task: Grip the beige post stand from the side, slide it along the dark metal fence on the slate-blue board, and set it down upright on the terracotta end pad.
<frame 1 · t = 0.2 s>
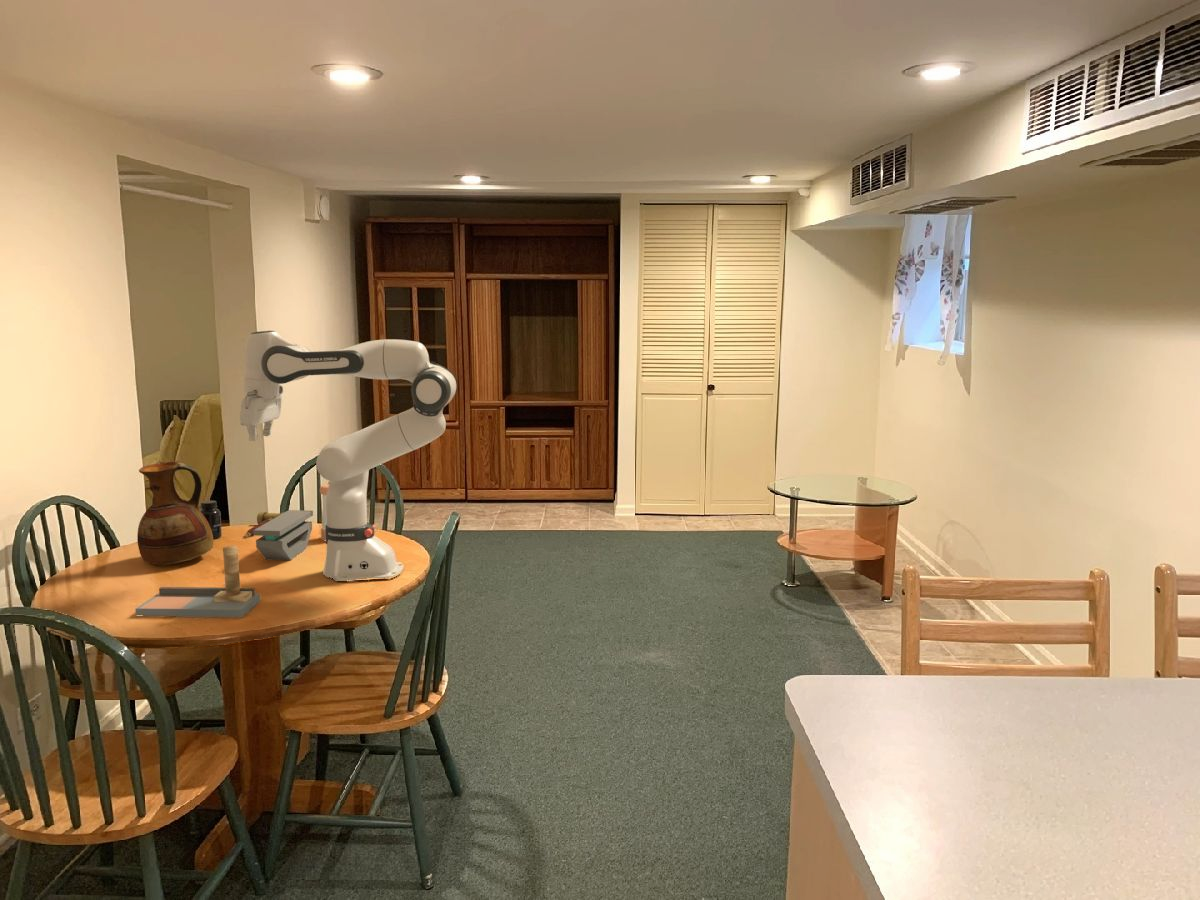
hand: (260, 438, 245), 39 cm above the table, tool pointing down, fingers open, 8 cm apart
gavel: (262, 532, 296), on the table
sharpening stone: (286, 555, 269), on the table
beige post stand: (233, 599, 223), point 2 cm above the table, touching board
supplement bottle: (210, 538, 287), on the table
board: (199, 608, 222), on the table
ceramic pitcher: (177, 560, 262), on the table
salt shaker: (333, 539, 287), on the table
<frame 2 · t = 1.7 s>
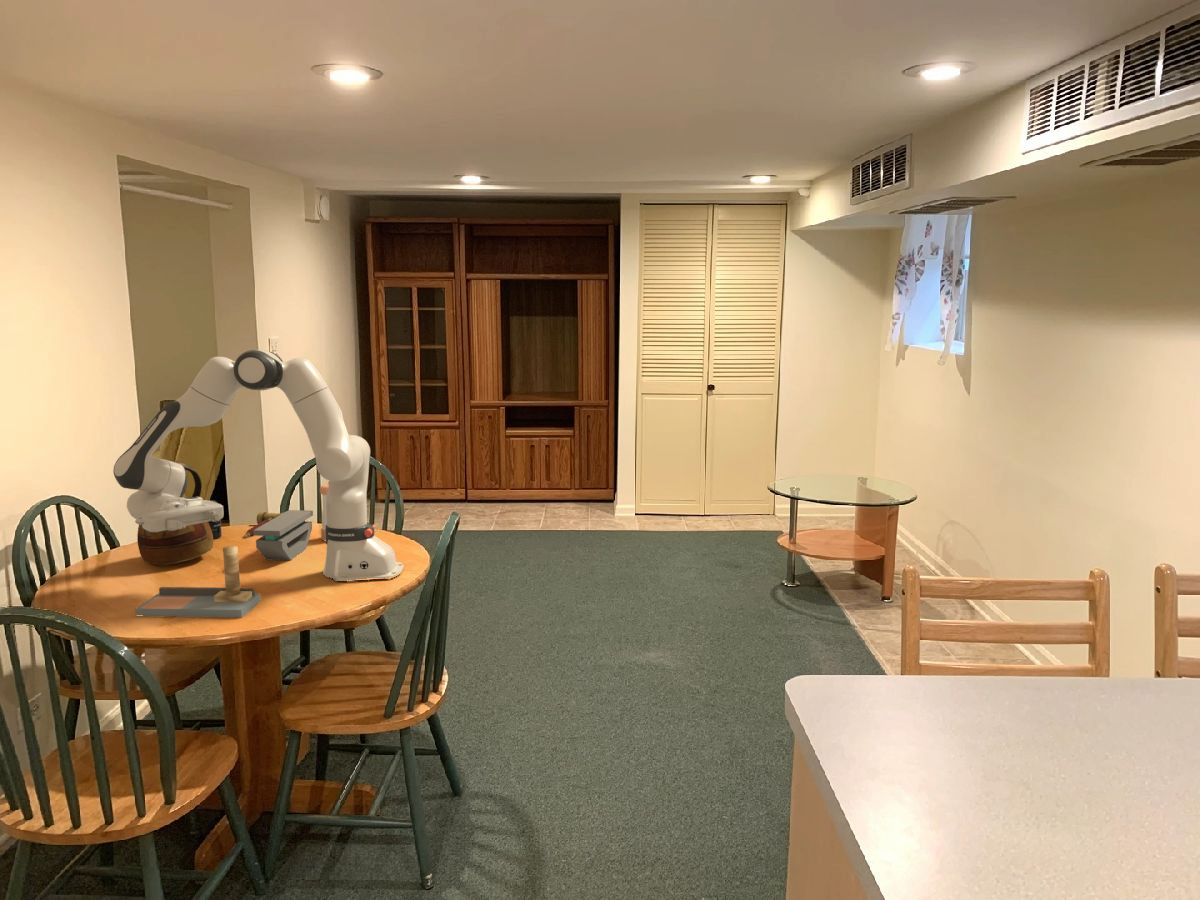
hand: (200, 521, 226), 20 cm above the table, tool horizontal, fingers open, 8 cm apart
nothing on the table moved.
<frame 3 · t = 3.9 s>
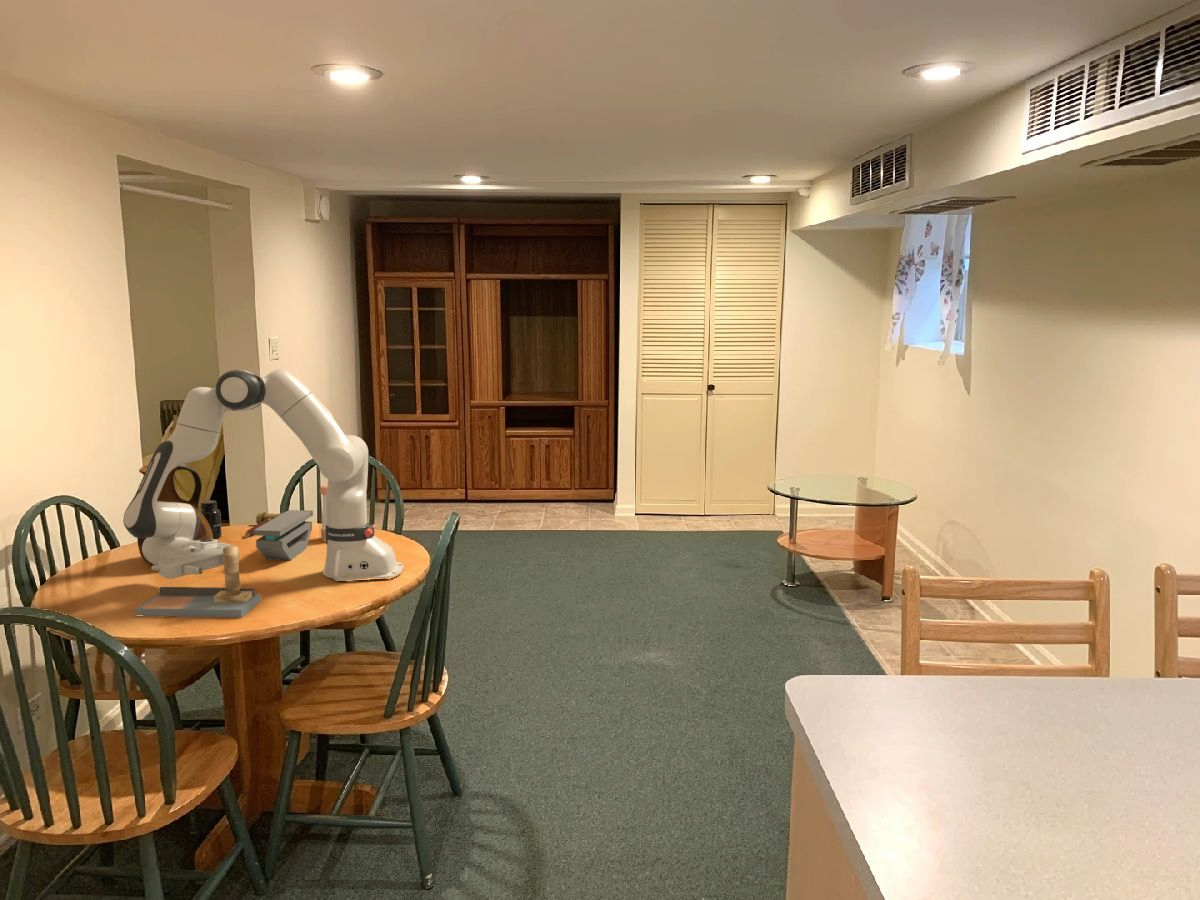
hand: (216, 566, 225), 9 cm above the table, tool horizontal, fingers open, 8 cm apart
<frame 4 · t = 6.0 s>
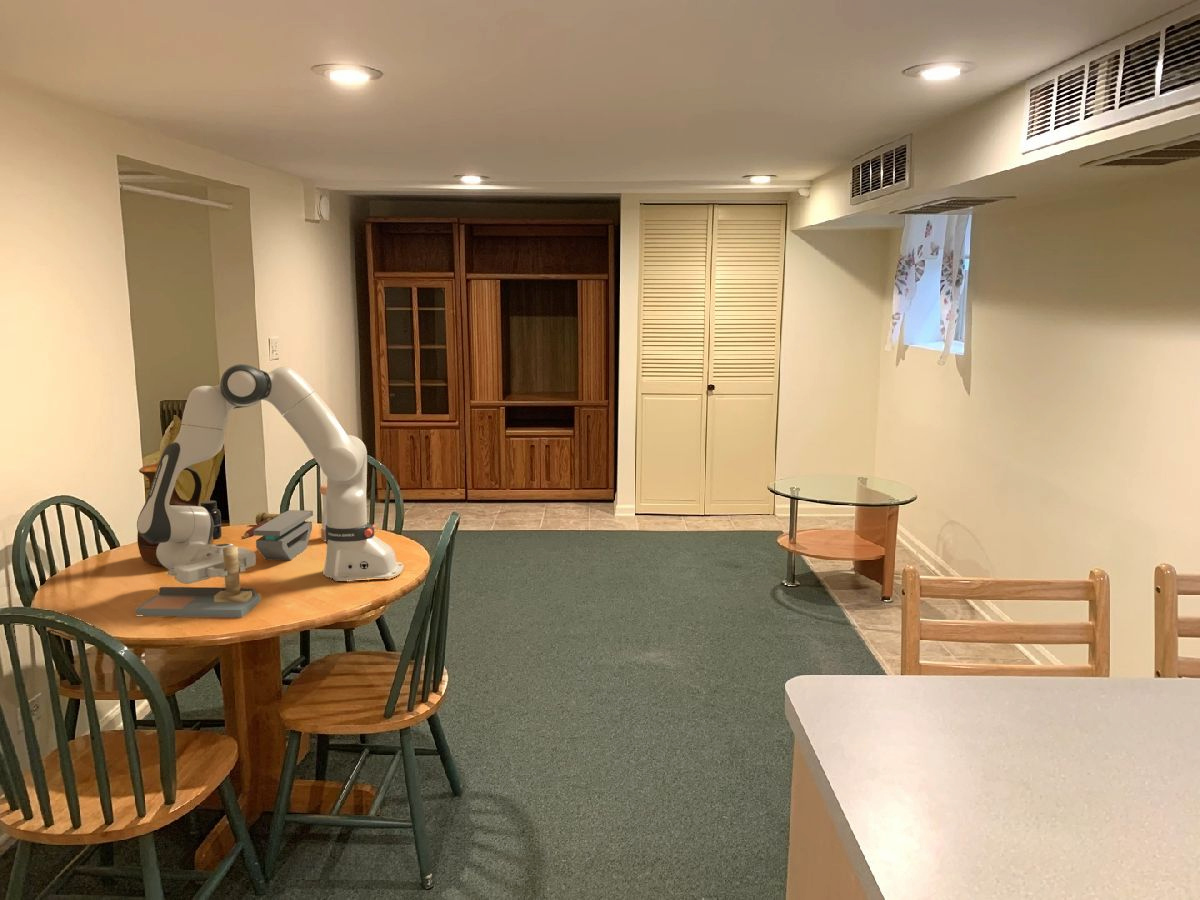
hand: (233, 571, 221), 10 cm above the table, tool horizontal, fingers closed on beige post stand, 3 cm apart
beige post stand: (233, 599, 223), point 2 cm above the table, touching board, gripper
everything else where it was.
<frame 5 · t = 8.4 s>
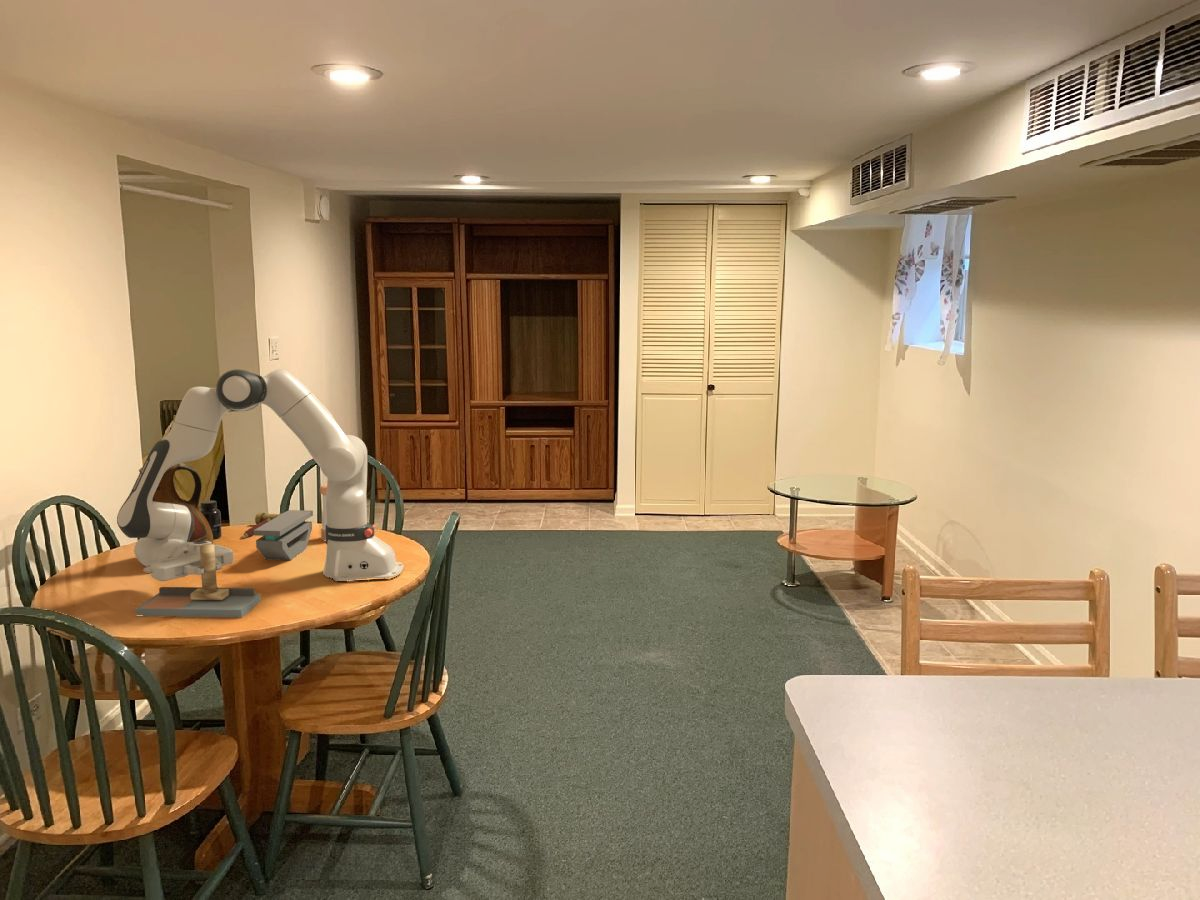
hand: (210, 569, 221), 10 cm above the table, tool horizontal, fingers closed on beige post stand, 3 cm apart
beige post stand: (210, 597, 223), point 3 cm above the table, touching gripper
when the fingers open (10 cm above the table, at t = 11.2 s): beige post stand stays where it is, resting on board.
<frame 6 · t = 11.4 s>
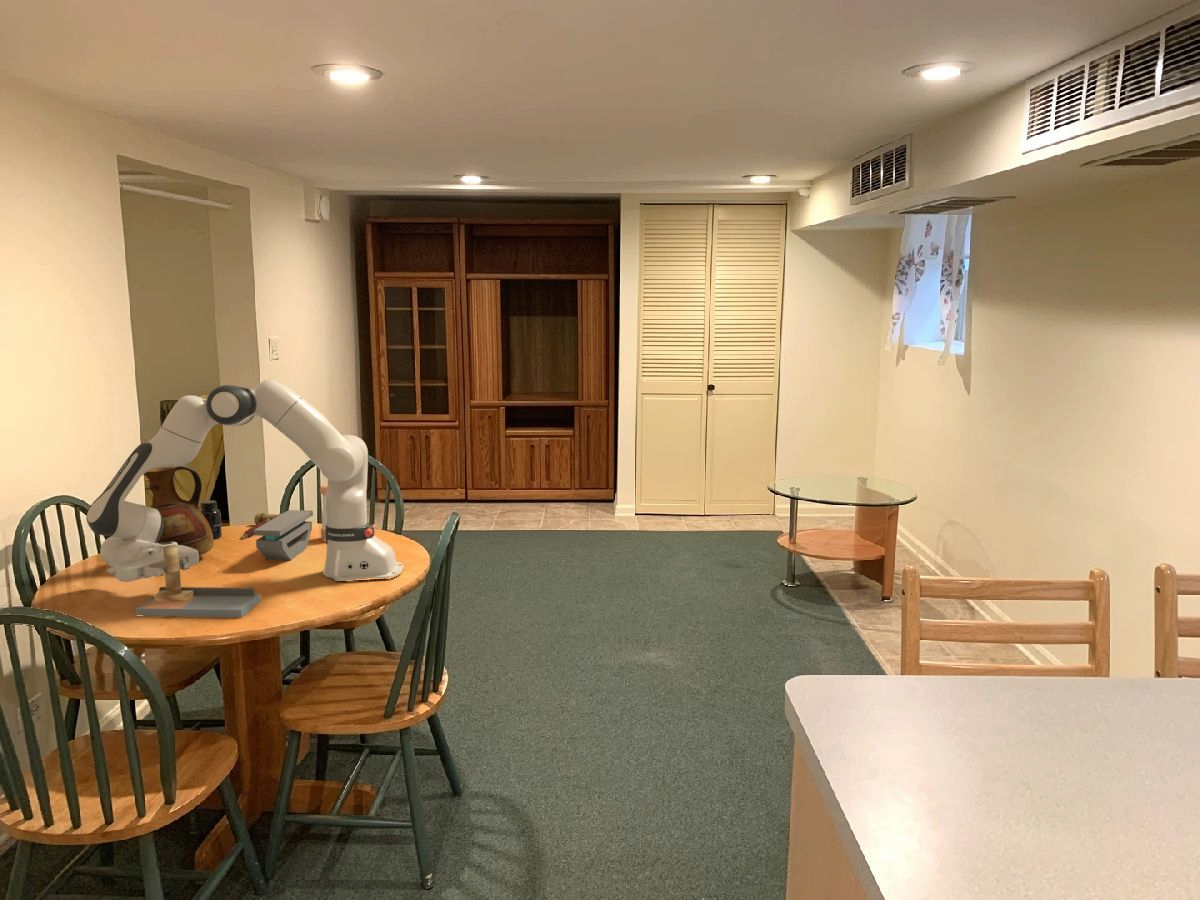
hand: (174, 569, 221), 10 cm above the table, tool horizontal, fingers open, 5 cm apart
beige post stand: (174, 598, 223), point 2 cm above the table, touching board
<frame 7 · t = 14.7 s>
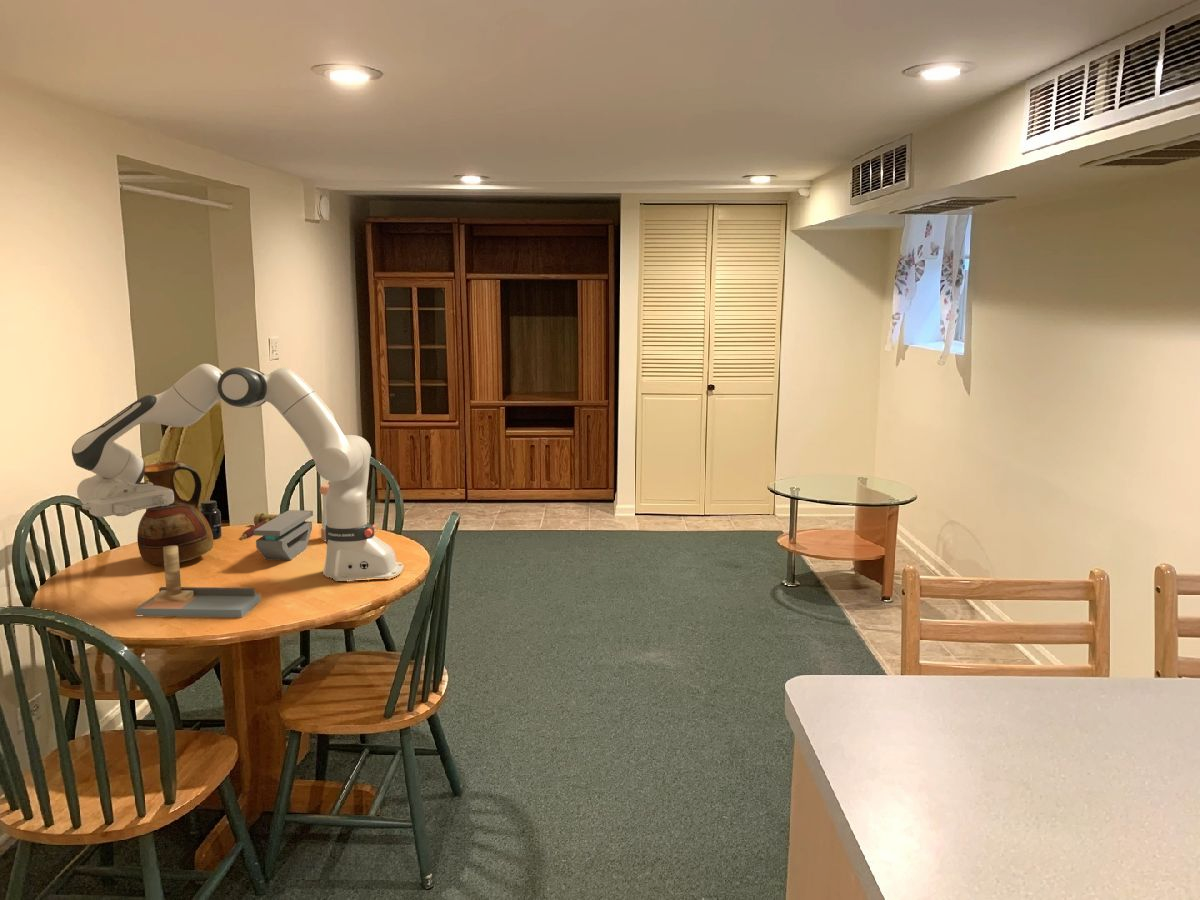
hand: (148, 506, 224), 25 cm above the table, tool horizontal, fingers open, 8 cm apart
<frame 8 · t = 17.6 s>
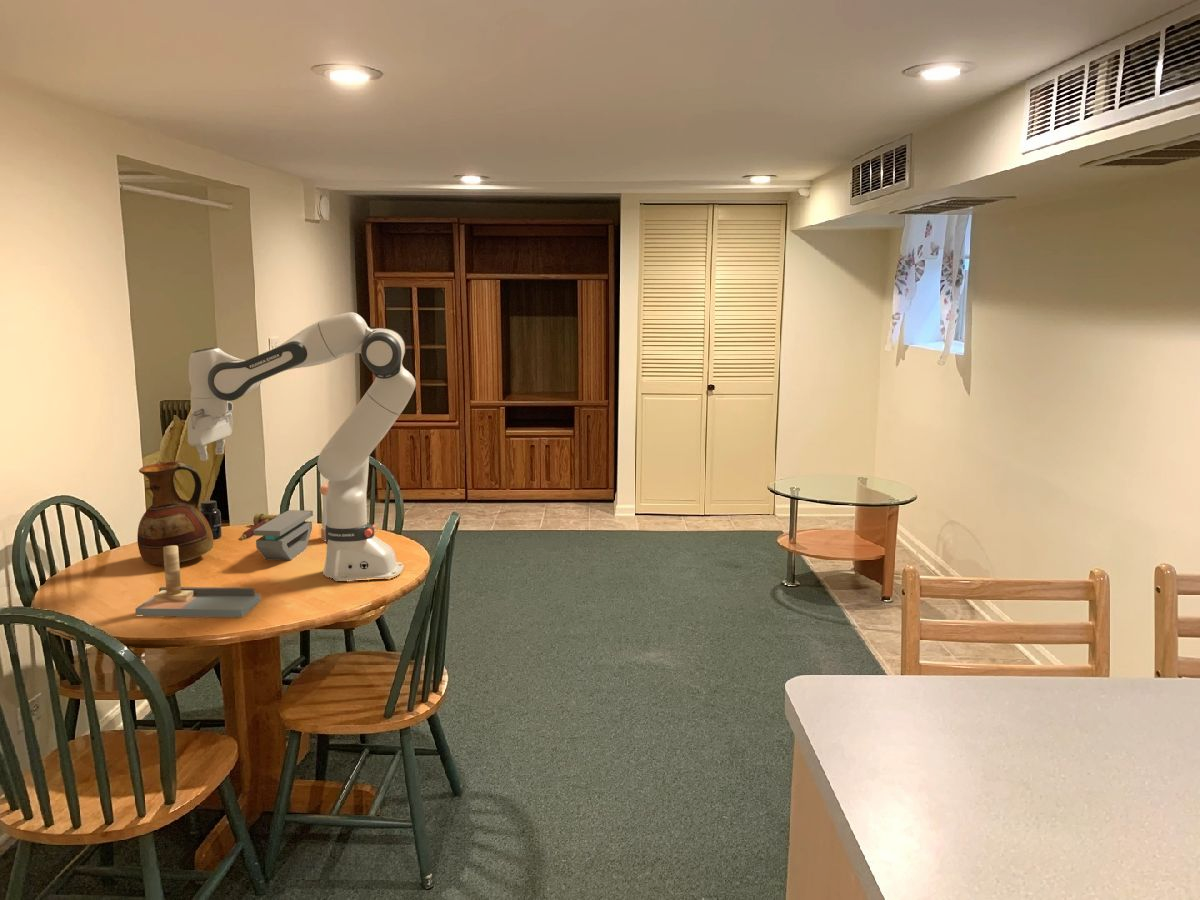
hand: (212, 457, 241), 34 cm above the table, tool pointing down, fingers open, 8 cm apart
at the end: beige post stand 0.2 cm from the target spot, point 2.0 cm above the table; beige post stand tilted 0°; the gripper is holding nothing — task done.
